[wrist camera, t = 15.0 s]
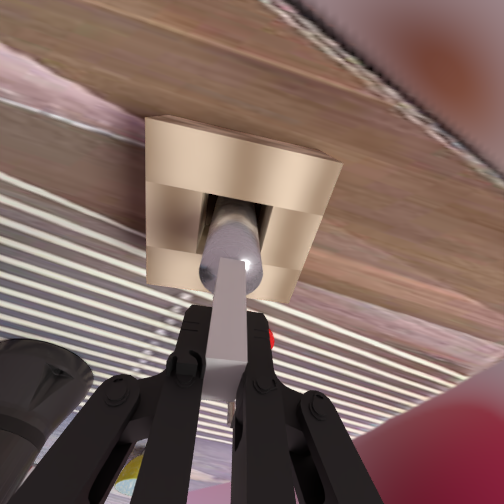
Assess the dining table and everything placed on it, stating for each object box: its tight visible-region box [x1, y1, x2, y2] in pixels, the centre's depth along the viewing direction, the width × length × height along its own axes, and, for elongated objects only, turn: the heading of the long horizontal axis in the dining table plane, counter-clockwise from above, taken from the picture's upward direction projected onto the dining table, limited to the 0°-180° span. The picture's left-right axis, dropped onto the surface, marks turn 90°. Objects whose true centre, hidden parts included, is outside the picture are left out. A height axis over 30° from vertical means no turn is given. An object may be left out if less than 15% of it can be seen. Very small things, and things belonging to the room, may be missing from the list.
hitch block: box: [145, 115, 343, 304], centre depth 23 cm, size 14×14×6 cm
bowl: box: [115, 450, 145, 496], centre depth 52 cm, size 11×12×6 cm
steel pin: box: [199, 196, 263, 295], centre depth 20 cm, size 4×4×12 cm
